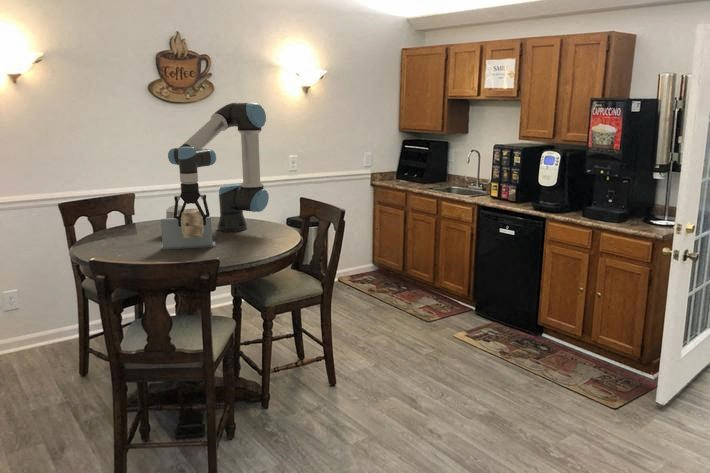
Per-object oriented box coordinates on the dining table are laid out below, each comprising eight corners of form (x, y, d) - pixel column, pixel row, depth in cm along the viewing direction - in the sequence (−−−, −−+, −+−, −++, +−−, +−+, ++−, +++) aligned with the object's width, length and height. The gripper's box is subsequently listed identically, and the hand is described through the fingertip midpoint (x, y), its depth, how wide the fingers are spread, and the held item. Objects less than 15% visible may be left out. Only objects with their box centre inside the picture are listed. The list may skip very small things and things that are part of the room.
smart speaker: (162, 234, 295) (160, 207, 292) (174, 230, 304) (172, 204, 300) (178, 236, 292) (176, 208, 288) (189, 232, 300) (187, 205, 297)
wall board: (215, 243, 277) (213, 214, 273) (214, 246, 271) (213, 217, 268) (162, 246, 272) (159, 217, 269) (160, 249, 266) (158, 219, 263)
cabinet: (203, 231, 269) (201, 208, 266) (202, 237, 258) (200, 213, 256) (185, 232, 267) (183, 209, 265) (183, 238, 257) (181, 214, 254)
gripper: (213, 180, 261) (217, 229, 267) (165, 182, 257) (169, 232, 263) (213, 182, 254) (216, 233, 260) (163, 184, 250) (167, 236, 256)
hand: (193, 232), depth 261 cm, fingers closed on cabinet, 8 cm apart
